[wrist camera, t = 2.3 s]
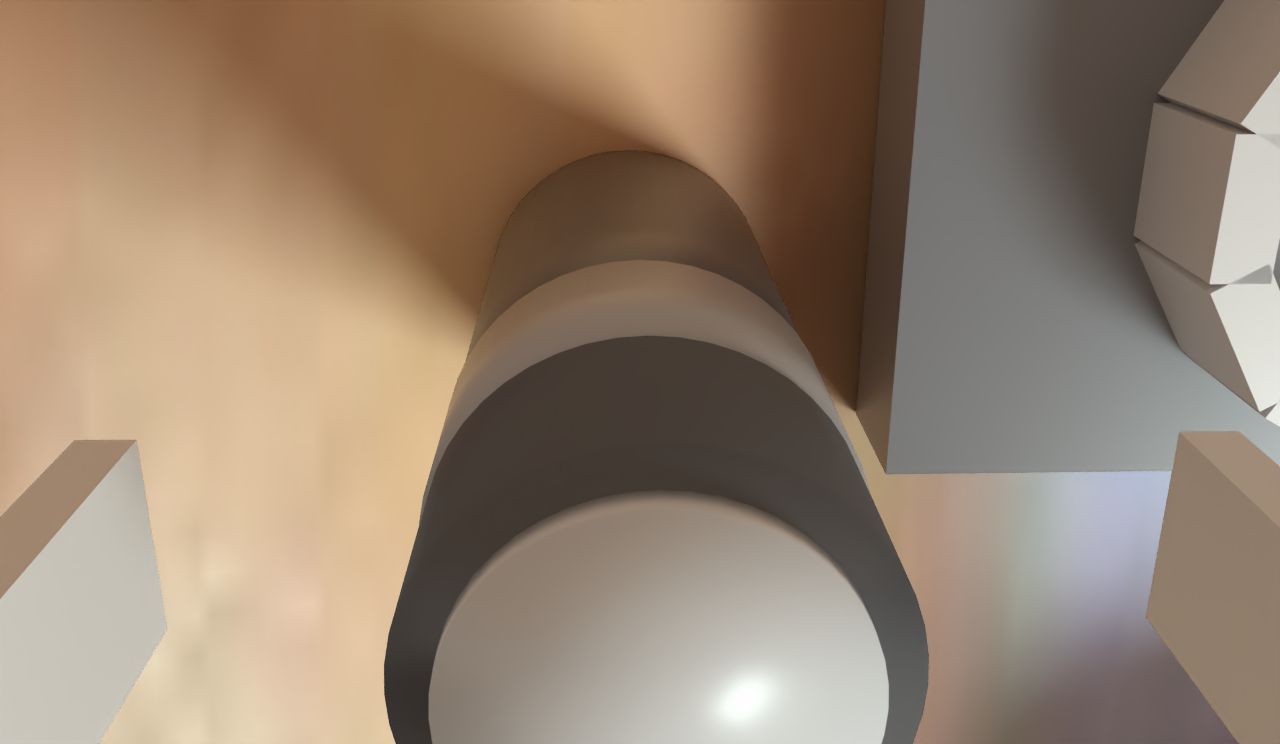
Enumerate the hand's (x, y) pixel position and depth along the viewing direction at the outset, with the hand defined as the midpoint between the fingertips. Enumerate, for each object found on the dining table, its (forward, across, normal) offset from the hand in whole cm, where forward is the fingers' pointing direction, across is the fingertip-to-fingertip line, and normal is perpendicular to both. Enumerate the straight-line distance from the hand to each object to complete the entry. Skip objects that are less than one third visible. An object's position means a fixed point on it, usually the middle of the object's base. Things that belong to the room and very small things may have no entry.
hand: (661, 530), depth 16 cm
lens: (+11, 0, 0) cm, 11 cm away
